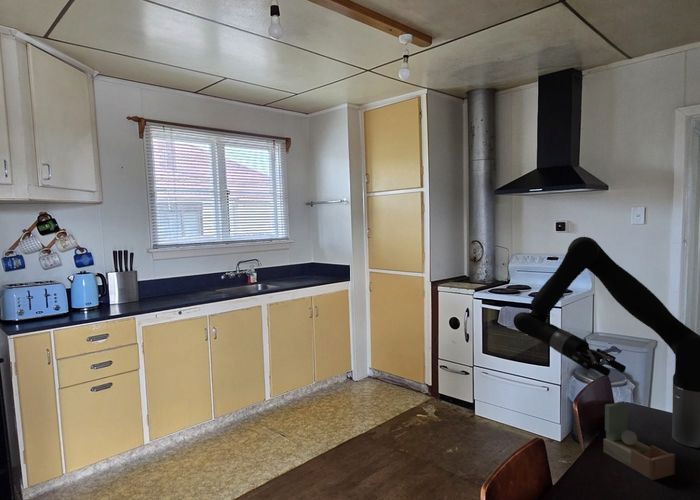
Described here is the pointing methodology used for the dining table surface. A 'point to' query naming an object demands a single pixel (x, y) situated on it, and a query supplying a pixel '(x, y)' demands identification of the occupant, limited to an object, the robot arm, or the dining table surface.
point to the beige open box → (624, 450)
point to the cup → (654, 463)
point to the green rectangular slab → (616, 420)
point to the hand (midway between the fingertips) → (616, 371)
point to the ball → (629, 437)
